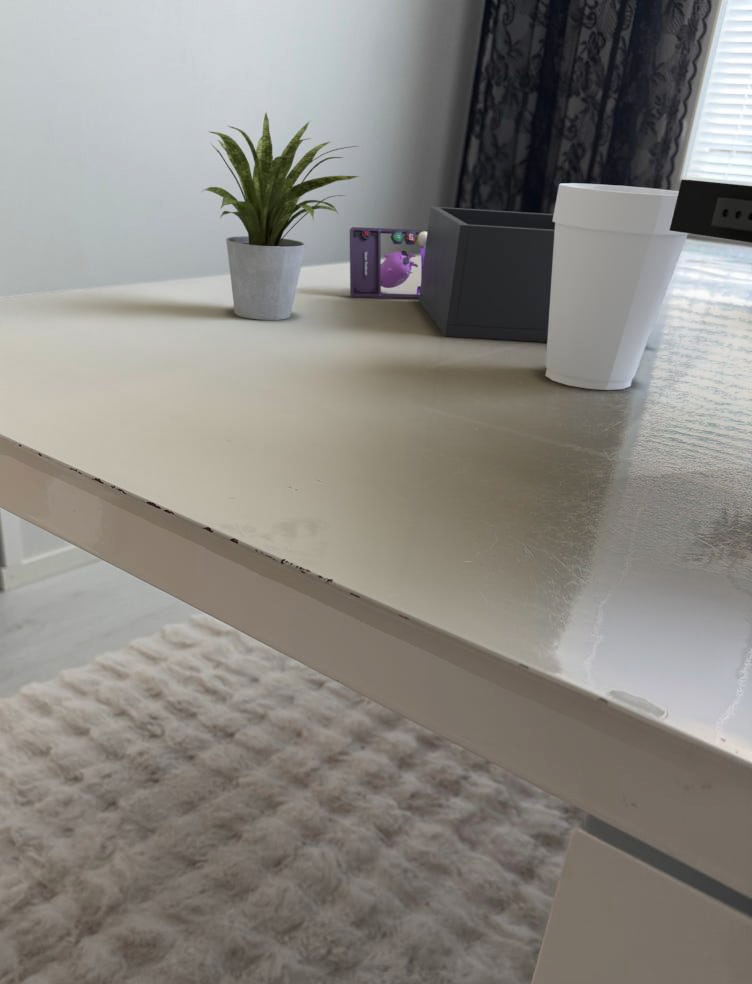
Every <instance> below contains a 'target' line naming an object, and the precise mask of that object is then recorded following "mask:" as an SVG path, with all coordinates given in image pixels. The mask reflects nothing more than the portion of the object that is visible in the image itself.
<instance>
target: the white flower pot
mask: <svg viewBox="0 0 752 984" xmlns="http://www.w3.org/2000/svg"><path fill="white" fill-rule="evenodd" d="M678 193H679V190H673V189H672V190H671V189H664V188H663V189H661V188H654V187H642V186H641V187H640V186H629V185H615V184H614V185H613V184H600V183H579V182H577V183H576V182H575V183H574V182H569V183H566V182H564V183H559V184H558V188H557V193H556V200H555V205H554V210H553V214H554V215H553V221H552V222H555V232H554V247H553V263H552V278H551V293H550V309H549V324H548V339H547V342H546V357H545V368H546V371H545V375H544V376H545V377H546V378H548V379H550V380H551V381H552V382H556V383H558V384H562V385H566V386H570V387H575V388H580V389H581V388H582V389H586V390H587V389H588V390H601V391H613V390H614V391H615V390H624V389H627V388H630V387H631V386H632V382H633V379H635V376H636V373H637V371H638V368H639V366H640V363H641V360H642V358H643V355H644V353H645V349H646V347H647V344H648V341H649V340H650V336H651V333H652V332H653V329H654V325H655V323H656V320H657V318H658V315H659V313H660V309H661V307H662V304H663V301H664V299H665V297H666V294H667V291H668V289H669V285H670V283H671V281H672V278H673V275H674V273H675V272H674V271H675V270H676V267H677V265H678V262H679V259H680V257H681V254H682V251H683V248H684V246H685V243H686V240H687V238H688V235H691V234H690V233H683V232H676V231H669V230H670V226H671V222H672V218H673V214H674V209H675V205H676V201H677V197H678Z"/></svg>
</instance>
